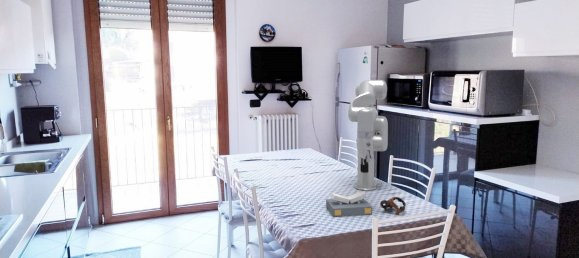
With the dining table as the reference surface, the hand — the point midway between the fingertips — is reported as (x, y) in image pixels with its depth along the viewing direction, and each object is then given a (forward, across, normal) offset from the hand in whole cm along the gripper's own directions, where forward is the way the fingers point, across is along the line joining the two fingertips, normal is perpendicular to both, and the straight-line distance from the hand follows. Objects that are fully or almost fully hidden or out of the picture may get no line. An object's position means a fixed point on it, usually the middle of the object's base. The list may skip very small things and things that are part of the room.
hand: (364, 171), depth 190 cm
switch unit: (+19, 0, +8) cm, 21 cm away
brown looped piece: (+20, -5, -13) cm, 24 cm away
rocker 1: (+14, 0, +12) cm, 18 cm away
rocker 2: (+14, 0, +3) cm, 14 cm away
